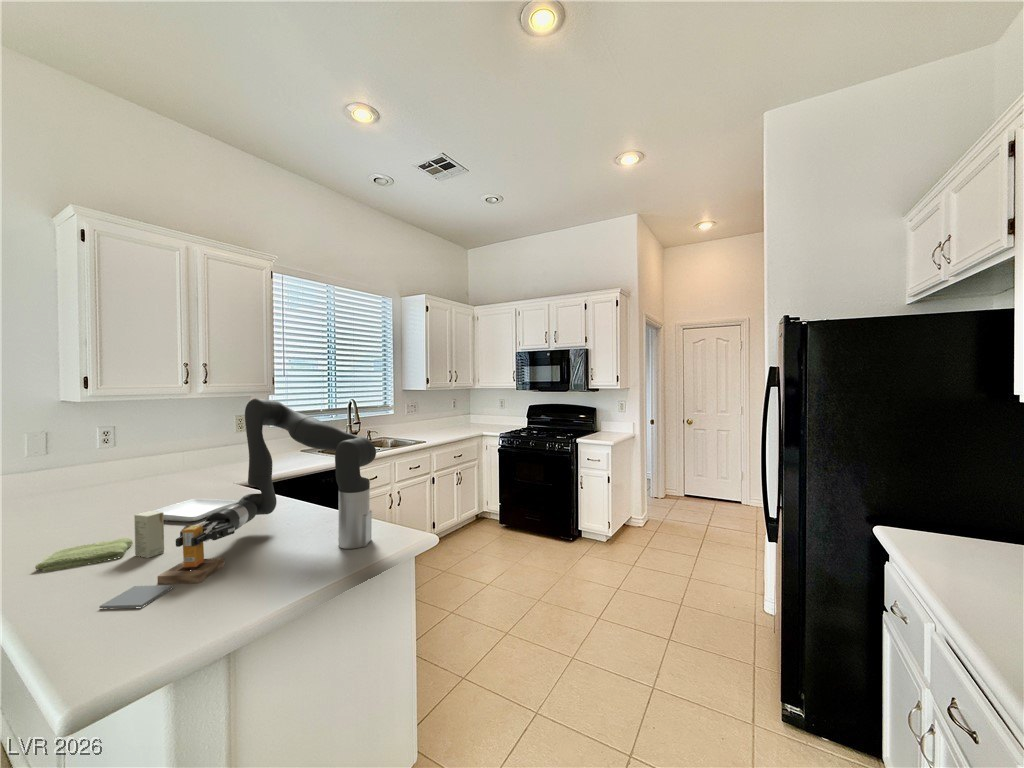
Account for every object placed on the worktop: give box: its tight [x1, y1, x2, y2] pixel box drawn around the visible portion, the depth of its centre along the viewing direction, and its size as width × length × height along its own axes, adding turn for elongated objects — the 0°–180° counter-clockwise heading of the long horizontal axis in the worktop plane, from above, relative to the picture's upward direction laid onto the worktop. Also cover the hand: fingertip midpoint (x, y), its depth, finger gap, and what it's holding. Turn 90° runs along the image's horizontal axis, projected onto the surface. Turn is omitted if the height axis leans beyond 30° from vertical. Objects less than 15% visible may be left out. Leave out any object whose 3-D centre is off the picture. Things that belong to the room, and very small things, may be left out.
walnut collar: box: [157, 557, 225, 585], centre depth 108 cm, size 10×10×2 cm
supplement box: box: [182, 525, 205, 567], centre depth 108 cm, size 3×3×10 cm
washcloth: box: [35, 537, 134, 573], centre depth 118 cm, size 13×18×3 cm
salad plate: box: [153, 498, 239, 522], centre depth 158 cm, size 21×21×3 cm
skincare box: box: [134, 510, 165, 559], centre depth 121 cm, size 6×4×12 cm
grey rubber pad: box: [98, 584, 174, 609], centre depth 96 cm, size 9×9×1 cm
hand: (185, 542), depth 105 cm, fingers closed on supplement box, 3 cm apart
